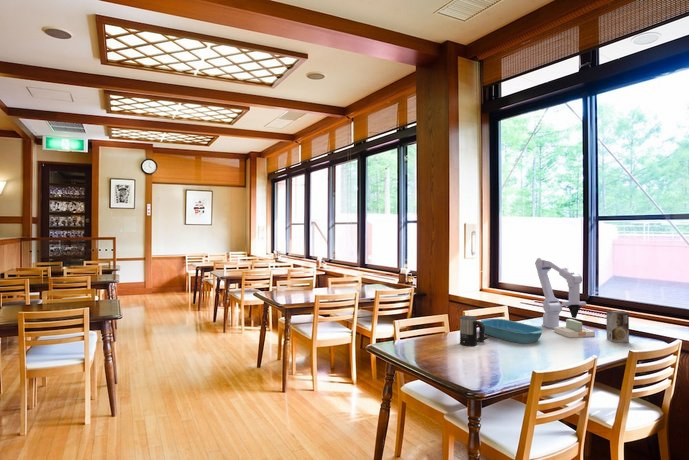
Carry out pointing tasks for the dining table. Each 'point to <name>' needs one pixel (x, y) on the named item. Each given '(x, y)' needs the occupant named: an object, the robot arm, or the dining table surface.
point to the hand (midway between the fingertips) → (573, 317)
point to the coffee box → (618, 326)
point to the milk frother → (471, 331)
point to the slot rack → (574, 332)
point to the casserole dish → (511, 330)
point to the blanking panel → (574, 325)
